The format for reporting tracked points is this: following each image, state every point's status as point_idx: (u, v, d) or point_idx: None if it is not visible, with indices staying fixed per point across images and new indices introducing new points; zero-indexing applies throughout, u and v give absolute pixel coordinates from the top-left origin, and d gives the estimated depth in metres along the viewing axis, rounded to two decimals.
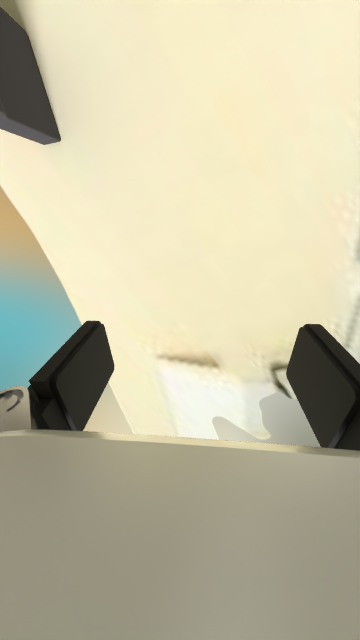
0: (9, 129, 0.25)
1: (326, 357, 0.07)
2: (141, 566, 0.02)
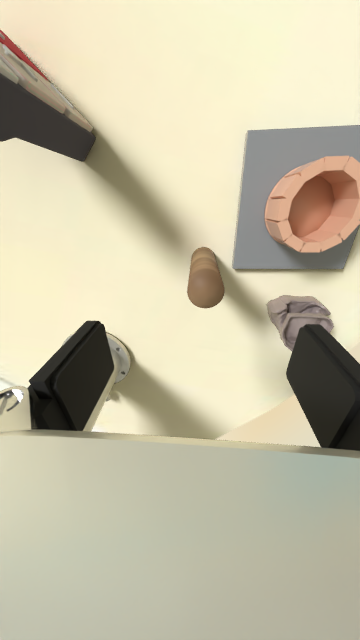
0: None
1: (326, 357, 0.07)
2: (141, 566, 0.02)
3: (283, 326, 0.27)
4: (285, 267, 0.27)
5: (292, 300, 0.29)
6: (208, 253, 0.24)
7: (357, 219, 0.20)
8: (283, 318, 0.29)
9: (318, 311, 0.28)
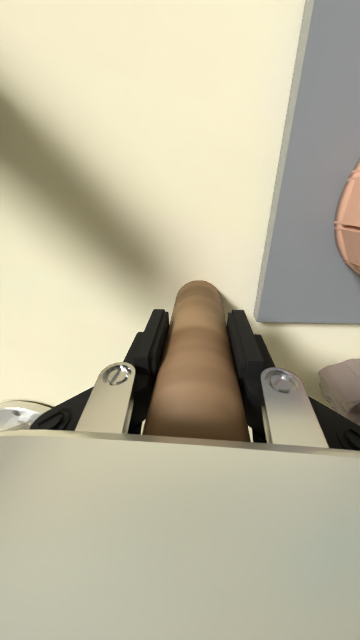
0: None
1: (234, 335, 0.08)
2: (141, 566, 0.02)
3: None
4: None
5: None
6: (207, 304, 0.11)
7: None
8: (357, 406, 0.15)
9: None
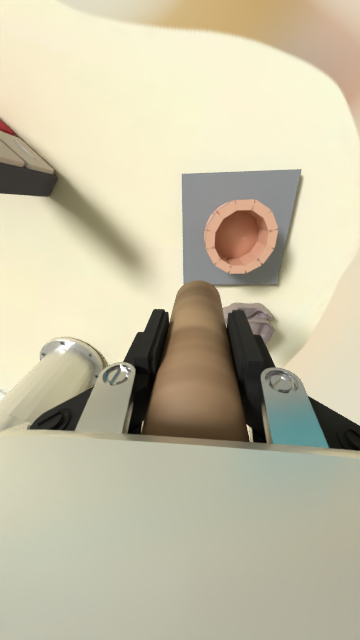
0: None
1: (234, 335, 0.08)
2: (141, 566, 0.02)
3: None
4: (228, 283, 0.31)
5: (241, 307, 0.32)
6: (206, 304, 0.11)
7: (270, 247, 0.24)
8: None
9: (263, 316, 0.32)
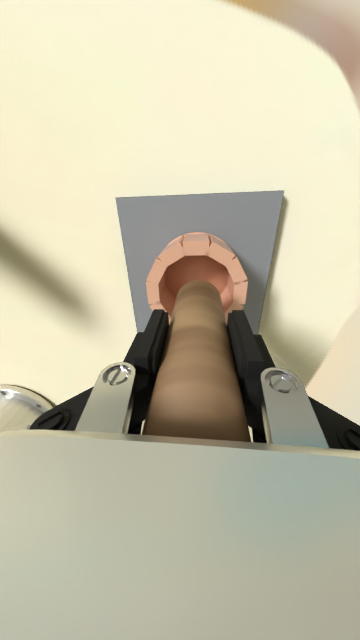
0: None
1: (234, 335, 0.08)
2: (141, 566, 0.02)
3: None
4: None
5: None
6: (207, 304, 0.11)
7: (238, 304, 0.17)
8: None
9: None
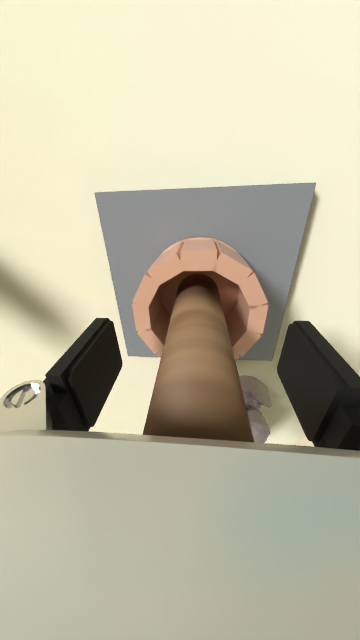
0: None
1: (311, 352, 0.07)
2: (141, 566, 0.02)
3: None
4: None
5: None
6: (206, 293, 0.12)
7: (254, 333, 0.13)
8: None
9: (256, 401, 0.21)
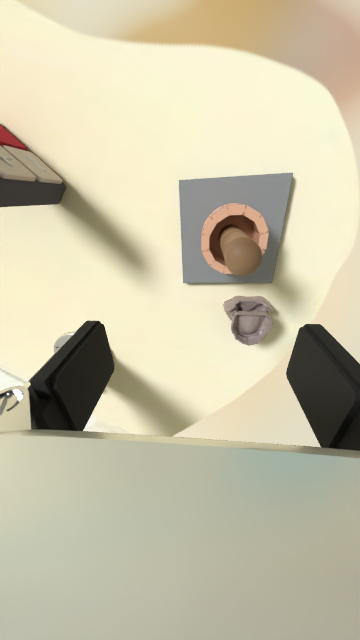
0: None
1: (326, 357, 0.07)
2: (141, 566, 0.02)
3: (232, 323, 0.32)
4: (225, 281, 0.33)
5: (241, 300, 0.34)
6: (238, 228, 0.25)
7: (262, 249, 0.25)
8: None
9: (264, 309, 0.33)
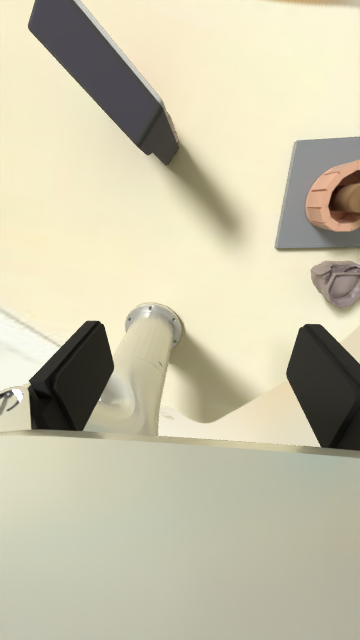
0: None
1: (326, 357, 0.07)
2: (141, 566, 0.02)
3: (329, 284, 0.33)
4: (319, 246, 0.34)
5: (334, 263, 0.35)
6: None
7: None
8: (327, 279, 0.35)
9: (356, 272, 0.34)
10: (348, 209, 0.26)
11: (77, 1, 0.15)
